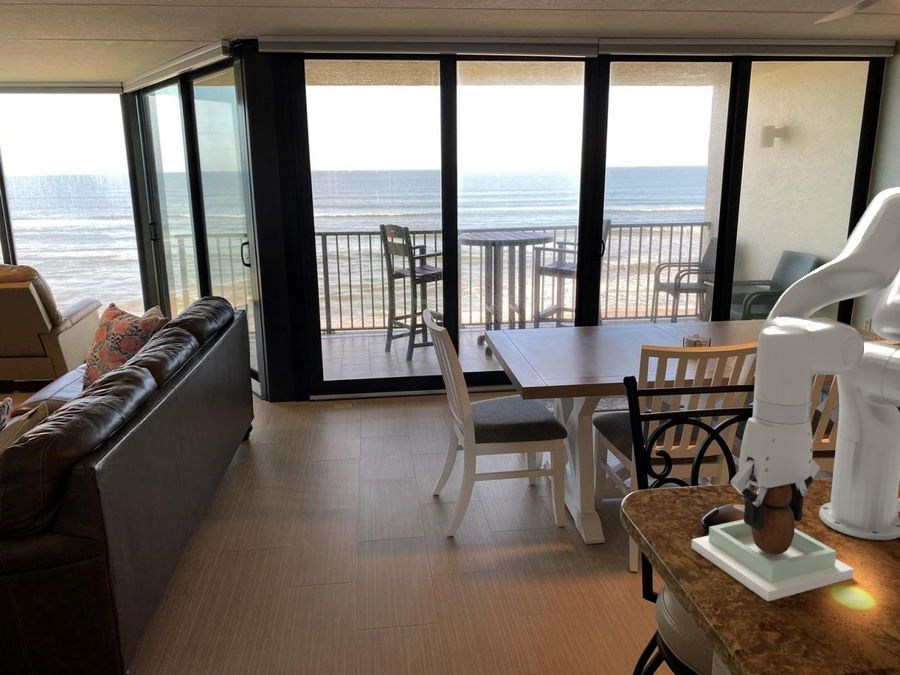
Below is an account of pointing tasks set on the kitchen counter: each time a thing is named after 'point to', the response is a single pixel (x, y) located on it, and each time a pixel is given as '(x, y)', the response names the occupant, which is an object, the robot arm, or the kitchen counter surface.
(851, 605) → the kitchen counter surface
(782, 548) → the wooden figurine
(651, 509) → the kitchen counter surface
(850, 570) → the ceramic stand
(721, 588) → the kitchen counter surface
